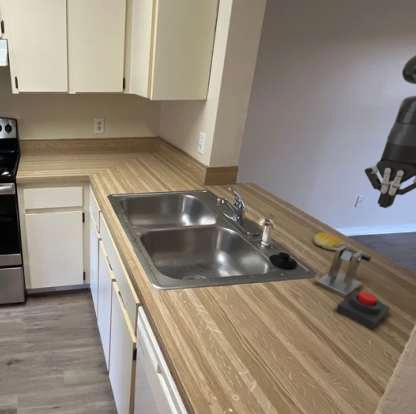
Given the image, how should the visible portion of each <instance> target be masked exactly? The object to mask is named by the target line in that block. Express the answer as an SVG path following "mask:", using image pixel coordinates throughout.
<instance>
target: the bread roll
mask: <svg viewBox="0 0 416 414" xmlns="http://www.w3.org/2000/svg"><path fill="white" fill-rule="evenodd" d="M313 243H314V244H315V245H317V247H322V248H323V249H325V250H329V251H336V250H337V249H338V248H339V247H341V246H343V245H345V243H344V241H343V240H342V239H341V238H340V237H339V236H336V235H332V234H331V233H328V232H319V233H317V234H315V235H314V237H313Z"/></svg>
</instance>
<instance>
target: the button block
mask: <svg viewBox="0 0 416 414" xmlns="http://www.w3.org/2000/svg"><path fill="white" fill-rule="evenodd" d="M360 292H361V291H357V290H355V291H354V292H352V293H351V294H350V295H349V296H347V297H346V298H344V299H343V300H342V301H341V302H339V303H338V305H337V308H336V312H337V313H339V314H341V315H343V316H345V317H347V318H349V319H351V320H354V321H355V322H357V323H359V324H361V325H363V326H364V327H366V328H369V329H371V330H372V329H374V328H375V327H376V325H378V324H379V323H380V322H381V321H382V319H384V318H385V317H386V316H387V315H388V313H389V311H390V309H391V306H389V305H386V304H384V303H383V302H382V301H381V300H379V299H378V298H377V300H376V303H375V305H374V306H370V305H366V304H364V303H362V302H360V301H359V300H358V296H359V293H360Z"/></svg>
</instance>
